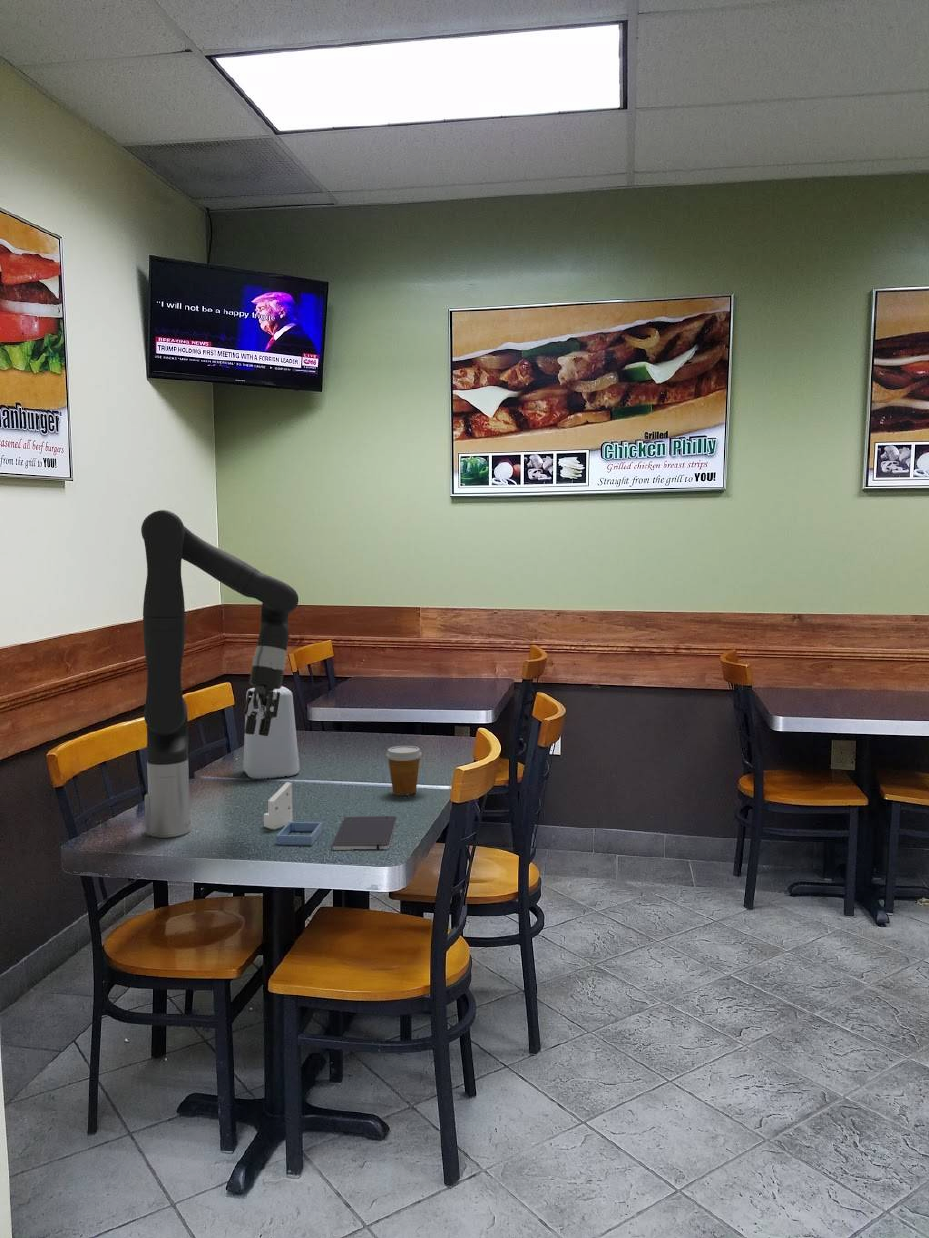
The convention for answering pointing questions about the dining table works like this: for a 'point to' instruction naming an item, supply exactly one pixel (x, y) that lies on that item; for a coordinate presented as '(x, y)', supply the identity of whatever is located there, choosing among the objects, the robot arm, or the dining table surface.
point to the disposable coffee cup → (404, 768)
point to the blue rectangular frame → (286, 839)
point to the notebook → (365, 833)
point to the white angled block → (279, 808)
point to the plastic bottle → (273, 743)
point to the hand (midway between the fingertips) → (256, 734)
